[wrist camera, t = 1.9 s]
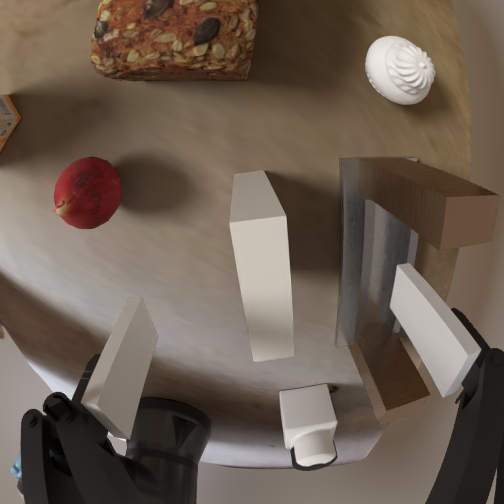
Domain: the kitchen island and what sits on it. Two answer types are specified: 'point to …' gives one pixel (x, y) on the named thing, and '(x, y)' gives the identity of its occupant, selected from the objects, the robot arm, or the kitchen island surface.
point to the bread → (174, 39)
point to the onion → (87, 193)
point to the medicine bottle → (309, 426)
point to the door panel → (262, 265)
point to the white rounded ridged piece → (399, 70)
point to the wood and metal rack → (396, 262)
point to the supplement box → (7, 118)
